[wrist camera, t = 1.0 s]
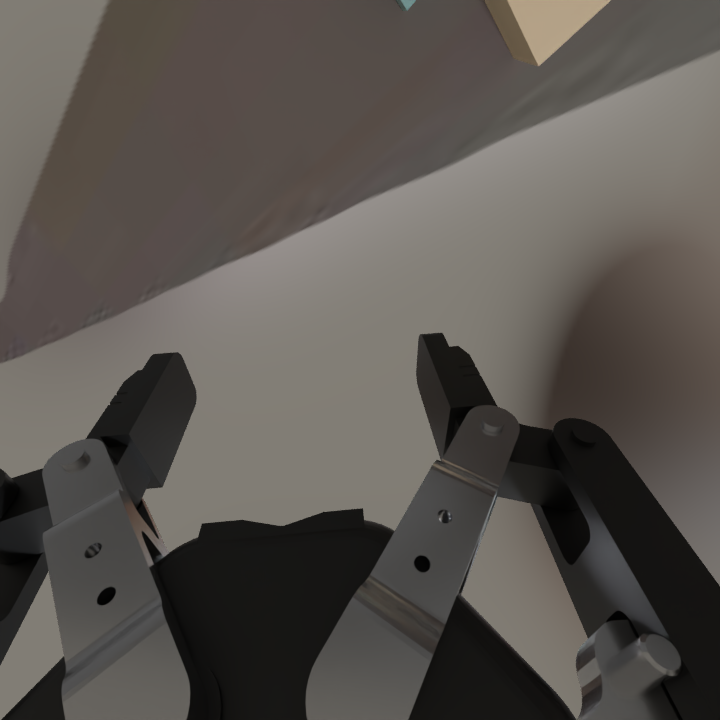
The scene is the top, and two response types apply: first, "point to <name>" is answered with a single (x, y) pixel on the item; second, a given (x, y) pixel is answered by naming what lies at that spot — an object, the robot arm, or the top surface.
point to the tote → (405, 4)
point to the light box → (540, 24)
